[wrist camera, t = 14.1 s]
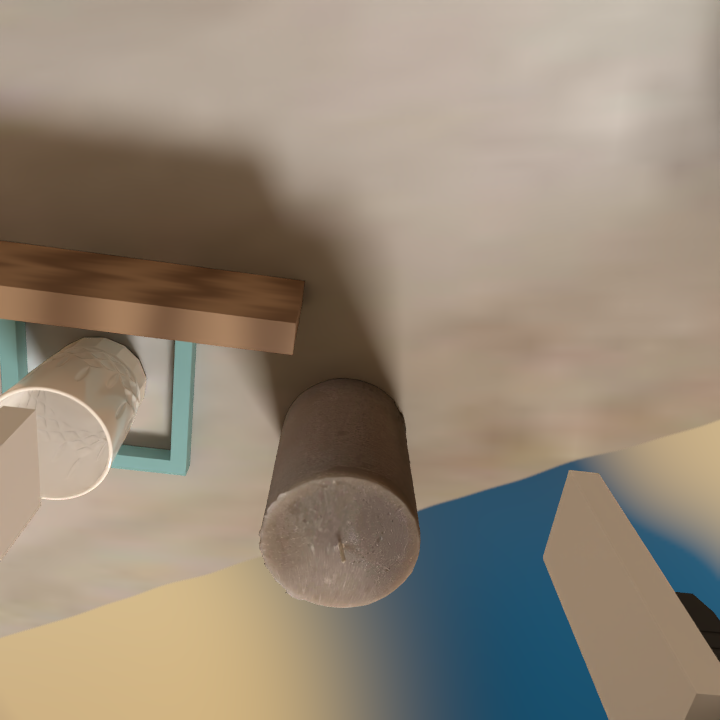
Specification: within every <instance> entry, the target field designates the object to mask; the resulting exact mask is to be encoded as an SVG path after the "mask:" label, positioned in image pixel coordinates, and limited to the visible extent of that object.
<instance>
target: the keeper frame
mask: <svg viewBox="0 0 720 720" xmlns="http://www.w3.org/2000/svg"><path fill="white" fill-rule="evenodd" d="M195 359H196V343H192V342H184V341H176V340H175V359H174V384H173V408H172V433H171V450H165V449H156V448H147V447H138V446H129V445H122V446H121V448H120V450H119V452H118V454H117V456H116V457H115V459H114V461H113V463H112V465H111V467H110V468H119V469H128V470H137V471H146V472H156V473H165V474H174V475H183V476H186V474H187V471H188V469H189V466H190V452H191V434H192V415H193V396H194V377H195ZM0 366H1V380H2V394H3V393H4V392H6V391H7V390H8V389H10V388H11V387H12V386H13V385H15V384H16V383H17V382H18V381H20V380H21V379H22V378H23V377H25V376H26V375H27V374H28V368H27V349H26V329H25V322H23V321H15V320H7V319H0Z"/></svg>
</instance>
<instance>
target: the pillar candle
mask: <svg viewBox="0 0 720 720" xmlns="http://www.w3.org/2000/svg"><path fill="white" fill-rule="evenodd" d="M259 536H260V537H261V539H260V543H259V546H260V550H261V553H262V557H263V559H264V561H265V563H264V564H265V566H266V567H267V569H268V570H269V571H270V573H271V574H272V576H273V577H274V579H275V580H276V581H277V582H278V583H279V584H280V585H281V586H282V587H283V588H285V589H286V593H288V594H290V596H291V597H294V598H296V599H299V600H302V599H304V600H307V601H309V602H312V603H315V604H317V605H323V606H329V607H336V608H337V607H338V608H344V607H355V606H363V605H367V604H371V603H372V602H375V601H377V600H379V599H382V598H384V597H385V596H387V595H388V594H390V593H391V592H393V591H394V590H395V589H396V588H398V587H399V586H400V585H401V584H402V583H403V582H404V581H405V580H406V579H407V577H408V576H409V575H410V574H411V573H412V570H413V568H414V566H415V563H416V561H417V558H418V555H419V549H420V528H419V522H418V514H417V508H416V500H415V494H414V487H413V481H412V475H411V469H410V461H409V454H408V449H407V439H406V427H405V422H404V418H403V415H402V414H401V413H400V412H399V410H398V408H397V407H396V406H395V402H394V401H393V399H392V398H391V397H389V396H388V395H387V394H386V393H385V392H383V391H382V390H381V389H379V388H377V387H376V386H374V385H371V384H369V383H366V382H363V381H360V380H354V379H334V380H328V381H325V382H322V383H319V384H317V385H314V386H312V387H311V388H309V389H307V390H306V391H305V392H303V393H302V394H301V395H300V396H299V397H298V398H297V399H296V400H295V401H294V402H293V404H292V405H291V407H290V408H289V410H288V412H287V414H286V417H285V421H284V424H283V429H282V433H281V437H280V442H279V446H278V451H277V455H276V461H275V465H274V471H273V476H272V480H271V485H270V490H269V495H268V500H267V505H266V509H265V514H264V518H263V522H262V526H261V530H260V532H259Z"/></svg>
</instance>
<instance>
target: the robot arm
mask: <svg viewBox="0 0 720 720" xmlns="http://www.w3.org/2000/svg"><path fill="white" fill-rule="evenodd" d="M40 506H41V495H40V476H39V457H38V438H37V420H36V409H28V408H19V407H10V406H2V407H1V408H0V561H1V560H2V559H3V557H4V556H5V554H6V553H7V552H8V550H9V549H10V548H11V546H12V545H13V543H14V542H15V541H16V539H17V538H18V537H19V535H20V534H21V532H22V531H23V530H24V528H25V527H26V526H27V524H28V523H29V522H30V520H31V519H32V517H33V516H34V515H35V513H36V512H37V511H38V509H39V508H40ZM543 560H544V562H545V565H546V567H547V569H548V572H549V574H550V577H551V579H552V582H553V584H554V587H555V589H556V591H557V594H558V596H559V599H560V601H561V603H562V606H563V608H564V611H565V613H566V616H567V618H568V621H569V623H570V626H571V628H572V631H573V633H574V635H575V638H576V640H577V643H578V645H579V648H580V650H581V653H582V655H583V658H584V660H585V662H586V665H587V667H588V670H589V672H590V675H591V677H592V680H593V682H594V684H595V687H596V689H597V692H598V694H599V697H600V699H601V702H602V704H603V706H604V709H605V711H606V714H607V716H608V718H609V720H720V620H719V619H718V618H717V616H716V615H715V614H714V612H713V611H712V610H711V609H709V608H708V607H707V606H706V605H704V603H702V602H701V601H700V600H699V599H698V598H697V597H696V596H694V595H693V594H689V593H680V592H674V590H673V589H672V587H671V586H670V584H669V582H668V581H667V579H666V578H665V576H664V575H663V573H662V571H661V570H660V568H659V567H658V565H657V564H656V562H655V561H654V559H653V558H652V556H651V554H650V553H649V551H648V550H647V548H646V547H645V545H644V543H643V542H642V540H641V539H640V537H639V536H638V534H637V532H636V531H635V529H634V528H633V526H632V525H631V523H630V522H629V520H628V518H627V517H626V515H625V514H624V512H623V511H622V509H621V507H620V506H619V505H618V503H617V501H616V500H615V498H614V497H613V495H612V493H611V492H610V490H609V489H608V487H607V486H606V484H605V482H604V481H603V479H602V478H601V476H600V475H599V473H590V472H582V471H573V470H569V473H568V476H567V479H566V483H565V486H564V489H563V493H562V496H561V499H560V502H559V506H558V509H557V513H556V516H555V519H554V522H553V526H552V529H551V533H550V536H549V539H548V542H547V546H546V549H545V552H544V556H543Z"/></svg>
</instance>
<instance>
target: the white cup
mask: <svg viewBox="0 0 720 720" xmlns="http://www.w3.org/2000/svg"><path fill="white" fill-rule="evenodd" d="M145 387H146V376H145V374H144V371H143V368H142V366H141V363H140V361H139V360H138V359H137V358H136V357H135V356H134V355H133V354H132V353H131V352H130V351H129V350H128V349H127V348H126V347H125V346H124V345H121V344H119V343H117V342H114V341H112V340H109V339H107V338H82V339H80V340H78V341H75V342H73V343H71V344H69V345H67V346H65V347H64V348H63V349H62V350H60V351H59V352H58V353H56V354H54V355H53V356H51V357H50V358H48V359H47V360H46V361H44V362H43V363H42V364H41V365H39V366H38V367H36V368H35V369H33V370H32V371H31V372H29V373H28V374H27V375H26V376H25V377H23V378H22V379H21V380H20V381H18V382H17V383H16V384H15V385H13V386H12V387H11V388H10V389H8V390H7V391H6V392H4V393H3V394H2V395H1V396H0V408H1V407H2V406H10V407H19V408H28V409H36V420H37V438H38V457H39V476H40V495H41V498H43V499H50V500H63V499H70V498H75V497H78V496H81V495H84V494H86V493H88V492H89V491H91V490H93V489H94V488H95V487H97V486H98V485H99V484H100V483H101V482H102V481H103V479H104V478H105V477H106V475H107V473H108V471H109V469H110V467H111V465H112V463H113V461H114V459H115V457H116V456H117V454H118V452H119V450H120V448H121V446H122V444H123V442H124V440H125V438H126V436H127V434H128V432H129V430H130V427H131V425H132V423H133V421H134V419H135V416H136V414H137V410H138V408H139V406H140V404H141V402H142V400H143V399H144V395H145Z"/></svg>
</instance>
